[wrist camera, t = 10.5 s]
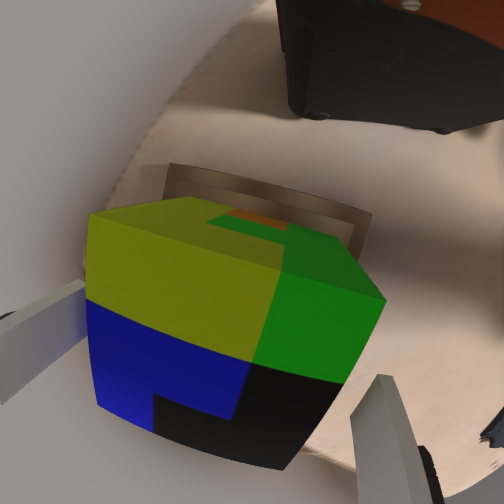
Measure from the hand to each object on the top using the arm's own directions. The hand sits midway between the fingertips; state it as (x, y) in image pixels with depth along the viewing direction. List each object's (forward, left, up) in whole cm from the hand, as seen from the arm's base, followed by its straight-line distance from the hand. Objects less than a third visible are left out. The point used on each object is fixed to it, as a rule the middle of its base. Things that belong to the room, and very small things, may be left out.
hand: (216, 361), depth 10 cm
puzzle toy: (0, 0, -9) cm, 9 cm away
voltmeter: (-6, -18, -13) cm, 23 cm away
